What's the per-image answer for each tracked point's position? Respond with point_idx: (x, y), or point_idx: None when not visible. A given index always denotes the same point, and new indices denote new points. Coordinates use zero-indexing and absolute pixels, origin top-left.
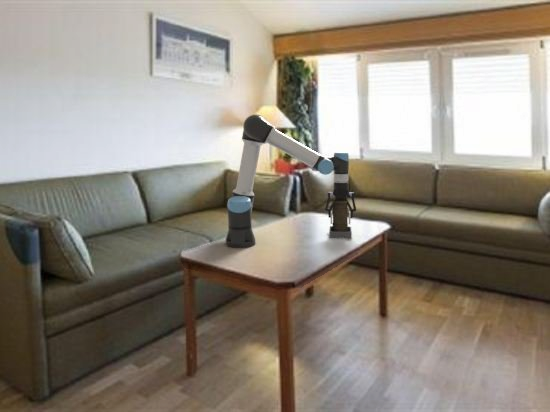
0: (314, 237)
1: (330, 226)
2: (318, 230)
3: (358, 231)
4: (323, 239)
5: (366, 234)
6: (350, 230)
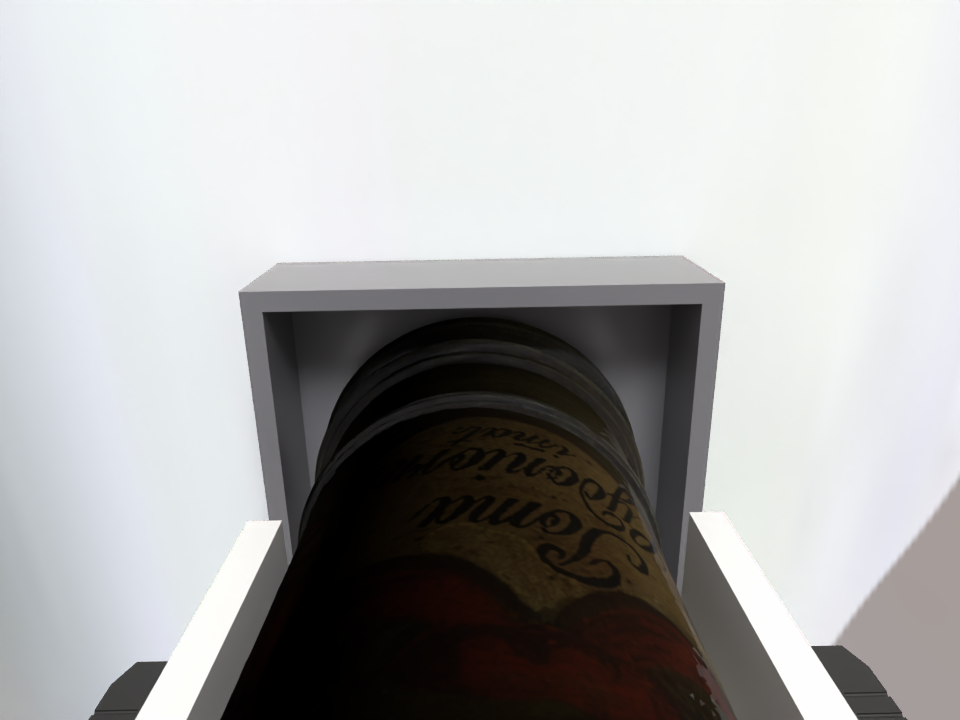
0: (85, 593)
1: (258, 312)
2: (24, 116)
3: (850, 117)
4: None
5: (951, 335)
6: (676, 584)
